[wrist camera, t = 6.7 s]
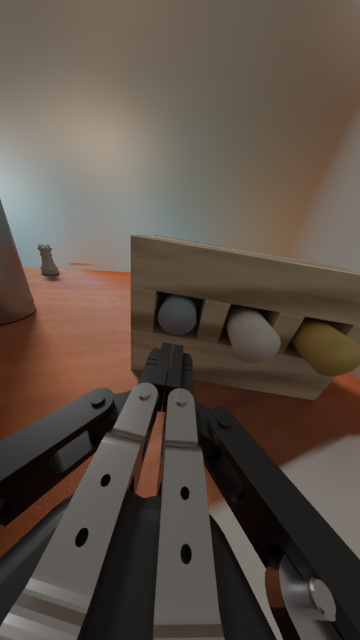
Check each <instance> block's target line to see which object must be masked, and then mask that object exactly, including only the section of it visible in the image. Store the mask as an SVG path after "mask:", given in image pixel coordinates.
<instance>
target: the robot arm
mask: <svg viewBox="0 0 360 640" xmlns="http://www.w3.org/2000/svg"><path fill="white" fill-rule="evenodd" d="M35 309H36V307H35V304H34V301H33V297H32V295H31V292H30V289H29V285H28V282H27V279H26V276H25V273H24V270H23V267H22V264H21V261H20V258H19V256H18V252H17V249H16V246H15V243H14V240H13V237H12V234H11V231H10V228H9V224H8V222H7V219H6V216H5V212H4V209H3V206H2V203H1V200H0V324H4V323H9V322H13V321H16V320H19V319H22V318H24V317H27V316H29V315H30V314H32V313H33V312H34V311H35ZM172 347H173V351H172ZM183 347H184V346H183V345H177V344H174V345H173V344H171V343H165V342H163V344H162V347H161V349H157V348H154V349H153V350H152V351H151V352H150V353H149V356H148V359H147V361H146V364H145V366H144V369H143V372H142V374H141V377H140V380H139V382H138V384H137V385H136V386H135V387H134V388H133V389H132V390H130V391H128V392H124V393H117V394H113V393H112V391H111V390H109V389H107V388H97V389H94V390H92V391H90V392H88V393H86V394H85V395H83V396H81V397H79V398H77V399H75V400H74V401H72V402H70V403H68V404H66V405H65V406H63V407H61V408H59V409H57V410H55V411H54V412H52V413H50V414H48V415H46V416H45V417H43V418H41V419H39V420H37V421H35V422H34V423H32V424H30V425H28V426H26V427H24V428H23V429H21V430H19V431H17V432H15V433H14V434H12V435H10V436H8V437H6V438H4V439H3V440H1V441H0V538H1V536H2V533H3V529H4V527H5V526H6V525H8V524H9V523H10V522H11V521H13V520H14V519H15V518H16V517H17V516H19V515H20V514H21V513H22V512H23V511H25V510H26V509H27V508H28V507H30V506H31V505H32V504H33V503H34V502H36V501H37V500H38V499H39V498H40V497H42V496H43V495H44V494H45V493H47V492H48V491H49V490H50V489H51V488H53V487H54V486H55V485H56V484H58V483H59V482H60V481H61V480H62V479H64V478H65V477H66V476H67V475H68V474H70V473H71V472H72V471H73V470H75V469H76V468H77V467H78V466H79V465H81V464H82V463H83V462H84V461H85V460H87V459H88V458H89V457H90V456H92V455H93V454H94V453H95V452H96V453H95V455H94V457H93V459H92V461H91V462H90V464H89V466H88V468H87V470H86V472H85V474H84V476H83V478H82V480H81V482H80V484H79V486H78V488H77V490H76V491H75V493H74V494H73V495H71V496H69V497H68V498H66V499H65V500H63V501H62V502H61V503H60V504H58V505H57V506H56V507H55V508H53V509H52V510H51V511H50V512H49V513H48V514H47V515H46V516H45V517H44V518H43V519H42V520H40V521H39V522H38V523H37V524H36V525H35V526H34V527H33V528H32V529H31V530H30V531H29V532H28V533H27V534H26V535H25V536H23V537H22V538H21V539H20V540H19V541H18V542H17V543H16V544H15V545H14V546H13V547H12V548H11V549H10V550H9V551H7V552H6V553H5V554H4V555H3V556H2V557H1V558H0V640H277V639H276V637H275V636H274V633H273V632H272V629H271V627H270V625H269V623H268V622H267V619H266V617H265V615H264V613H263V611H262V609H261V607H260V605H259V603H258V601H257V599H256V597H255V595H254V593H253V591H252V589H251V587H250V585H249V583H248V581H247V579H246V577H245V575H244V573H243V571H242V569H241V567H240V565H239V563H238V561H237V559H236V557H235V555H234V553H233V551H232V549H231V547H230V545H229V543H228V541H227V539H226V537H225V535H224V533H223V532H222V530H221V528H220V527H219V525H218V524H217V522H216V521H215V520H214V519H213V517H212V516H211V515H210V514H209V509H208V499H207V490H206V480H205V470H204V465H205V466H206V468H207V470H208V471H209V473H210V475H211V476H212V478H213V480H214V482H215V483H216V485H217V487H218V488H219V490H220V492H221V493H222V495H223V497H224V498H225V500H226V502H227V504H228V505H229V507H230V508H231V510H232V512H233V514H234V515H235V517H236V519H237V520H238V522H239V524H240V525H241V527H242V529H243V530H244V532H245V534H246V535H247V537H248V539H249V541H250V542H251V544H252V545H253V547H254V549H255V551H256V553H257V554H258V556H259V558H260V559H261V561H262V563H263V564H264V566H265V568H266V572H265V587H266V594H267V599H268V602H269V606H270V609H271V611H272V614H273V617H274V618H275V621H276V623H277V625H278V628H279V630H280V632H281V635H282V638H283V640H360V560H359V558H358V557H357V556H356V555H355V554H354V553H353V552H352V550H351V549H350V548H349V547H348V546H347V545H346V544H345V542H344V541H343V540H342V539H341V538H340V537H339V536H338V534H337V533H336V532H335V531H334V530H333V529H332V528H331V526H330V525H329V524H328V523H327V522H326V521H325V520H324V518H323V517H322V516H321V515H320V514H319V513H318V512H317V510H316V509H315V508H314V507H313V506H312V505H311V504H310V503H309V501H308V500H307V499H306V498H305V497H304V496H303V495H302V494H301V492H300V491H299V490H298V489H297V488H296V487H295V485H294V484H293V483H292V482H291V481H290V480H289V479H288V478H287V476H286V475H285V474H284V473H283V472H282V471H281V469H280V468H279V467H278V466H277V465H276V464H275V463H274V461H273V460H272V459H271V458H270V457H269V456H268V455H267V453H266V452H265V451H264V450H263V449H262V448H261V447H260V445H259V444H258V443H257V442H256V441H255V440H254V439H253V438H252V436H251V435H250V434H249V433H248V432H247V431H246V430H245V428H244V427H243V426H242V425H241V424H240V423H239V422H238V420H237V419H236V418H235V417H234V416H233V415H232V414H231V413H230V412H229V411H228V410H226V409H224V408H220V407H217V408H214V409H212V410H210V409H208V408H206V407H204V406H203V405H201V404H200V403H198V402H197V400H196V399H195V398H194V396H193V391H192V380H193V372H192V371H193V367H192V366H193V359H192V357H191V355H190V354H187V353H183ZM171 353H172V357H171ZM170 359H171V362H170ZM169 365H170V368H169ZM168 371H169V373H168ZM167 376H168V379H167ZM166 381H167V384H166ZM165 387H166V390H165ZM164 392H165V397H164ZM163 398H164V403H163ZM162 403H163V409H162ZM161 409H162V412H165V418H164V424H163V431H162V443H161V454H160V465H159V474H158V483H157V492H156V496H153V497H148V498H142V497H140V496H139V495H137V494H136V491H137V487H138V483H139V479H140V475H141V470H142V466H143V462H144V458H145V455H146V451H147V448H148V444H149V441H150V437H151V434H152V430H153V426H154V423H155V421H156V416H157V411H160V412H161Z"/></svg>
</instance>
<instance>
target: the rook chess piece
mask: <svg viewBox="0 0 360 640" xmlns="http://www.w3.org/2000/svg"><path fill="white" fill-rule="evenodd" d="M38 246H39V247H38V248H37V249H38V250H39V251H40V252H41V253H40V255H41V257H42V266H41V268H40V269H41V270H42V271H41V272H42V273H43V274H45V275H57V274H58V273H59V271H58V268H57V267H56V265H55V264H54V262H53V259H52V254H51V250H52V249H51V248H50V246H49V245H46V246H44V245H38Z"/></svg>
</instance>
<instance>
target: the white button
mask: <svg viewBox="0 0 360 640" xmlns="http://www.w3.org/2000/svg"><path fill="white" fill-rule="evenodd" d="M224 324H225V327H226V330H227V333H228V336H229V339H230V342H231V345H232V348H233V350H234V353H235V355H236V357H237V358H238V359H240V360H241V361H243V362H246V363H261V362H264V361H267V360H269V359H270V358H272V357H273V356H274V355H275V354H276V353H277V352H278V350H279V348H280V345H281V341H280V337H279V336H278V334H277V333H276V332H275V331H274V329H273V328H272V327H271V326H270V325H269V324H268V322H267V321H266V320H265V319H264V318H263V316H262V315H261V314H260V313H259V312H258V311H257V309H256V308H253V307H247V306H241V305H238V306H235V307H233V308H232V309H230V310H229V311H228V313H227V316H226V319H225V322H224Z"/></svg>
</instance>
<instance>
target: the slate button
mask: <svg viewBox="0 0 360 640" xmlns="http://www.w3.org/2000/svg"><path fill="white" fill-rule="evenodd" d="M158 322H159V324H160V326H161V327H162V329H163V330H164V331H166V332H167V333H169V334H172V335H184V334H186V333H188V332H190V331H191V330H192V329H193V328H194V326H195V324H196V299H195V298H194V297H188V296H183V295H177V294H171V293H167V295H166V297H165V300H164V302H163V304H162V306H161V308H160V310H159V313H158Z"/></svg>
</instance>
